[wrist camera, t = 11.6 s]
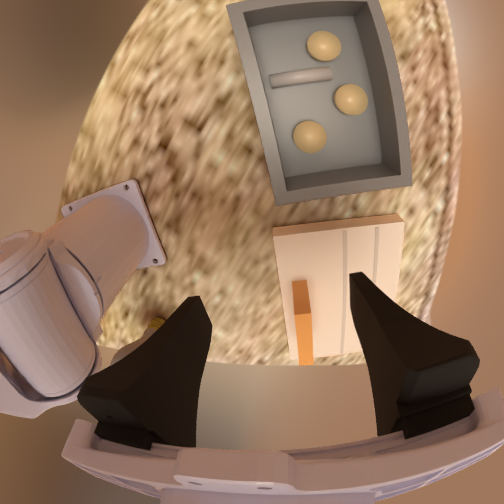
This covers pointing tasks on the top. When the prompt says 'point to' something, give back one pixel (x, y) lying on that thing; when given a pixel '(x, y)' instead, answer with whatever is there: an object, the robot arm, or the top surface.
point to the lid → (332, 278)
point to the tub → (324, 96)
